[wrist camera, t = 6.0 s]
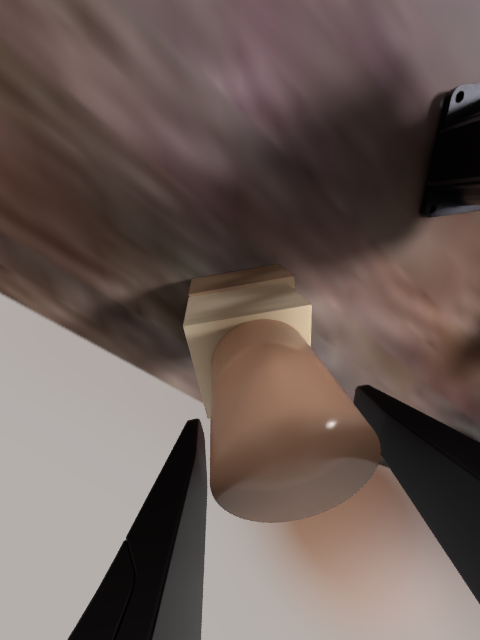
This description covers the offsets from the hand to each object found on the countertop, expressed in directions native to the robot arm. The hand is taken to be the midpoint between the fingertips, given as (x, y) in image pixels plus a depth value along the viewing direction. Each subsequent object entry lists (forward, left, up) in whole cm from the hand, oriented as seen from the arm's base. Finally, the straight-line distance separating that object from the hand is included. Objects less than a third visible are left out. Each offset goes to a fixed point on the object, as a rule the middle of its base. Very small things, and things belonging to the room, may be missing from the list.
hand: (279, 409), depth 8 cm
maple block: (0, 0, -6) cm, 6 cm away
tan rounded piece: (0, 0, -3) cm, 3 cm away
